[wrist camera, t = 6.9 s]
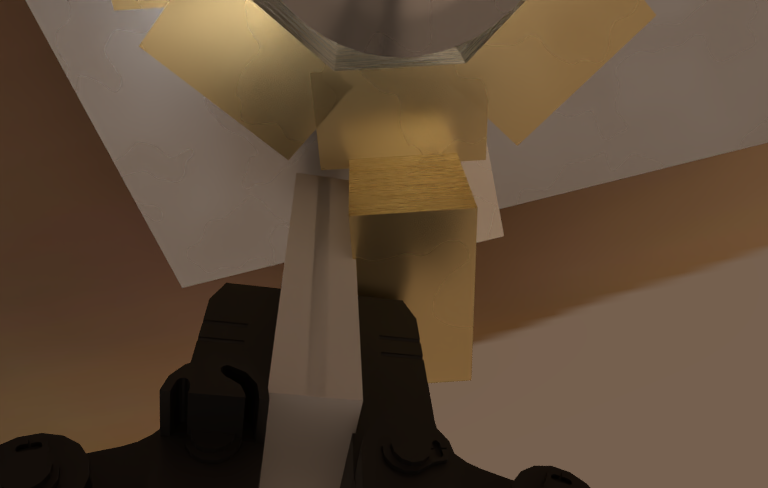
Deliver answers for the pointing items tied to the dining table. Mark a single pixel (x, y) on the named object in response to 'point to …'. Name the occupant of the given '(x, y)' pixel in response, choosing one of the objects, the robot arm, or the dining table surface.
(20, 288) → the dining table surface
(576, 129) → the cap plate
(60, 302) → the dining table surface
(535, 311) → the dining table surface
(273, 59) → the ring nut
